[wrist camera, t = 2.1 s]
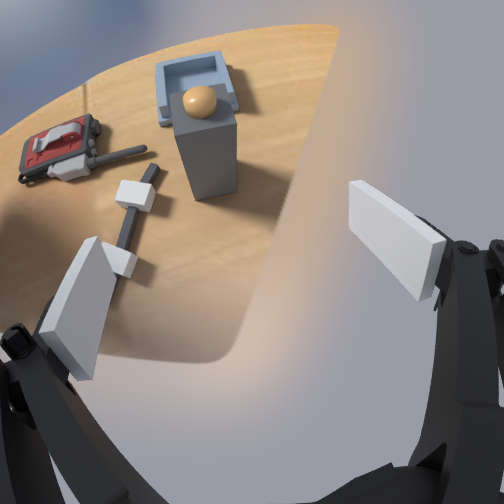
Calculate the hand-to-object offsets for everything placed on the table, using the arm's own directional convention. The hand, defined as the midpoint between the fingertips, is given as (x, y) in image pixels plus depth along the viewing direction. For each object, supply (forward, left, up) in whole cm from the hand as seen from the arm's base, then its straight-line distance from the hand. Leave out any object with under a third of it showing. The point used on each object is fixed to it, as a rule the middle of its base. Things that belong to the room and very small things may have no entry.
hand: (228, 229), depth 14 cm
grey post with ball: (0, +11, -15) cm, 19 cm away
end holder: (0, +25, -15) cm, 29 cm away
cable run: (-10, +7, -15) cm, 19 cm away
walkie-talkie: (-17, +20, -16) cm, 30 cm away
